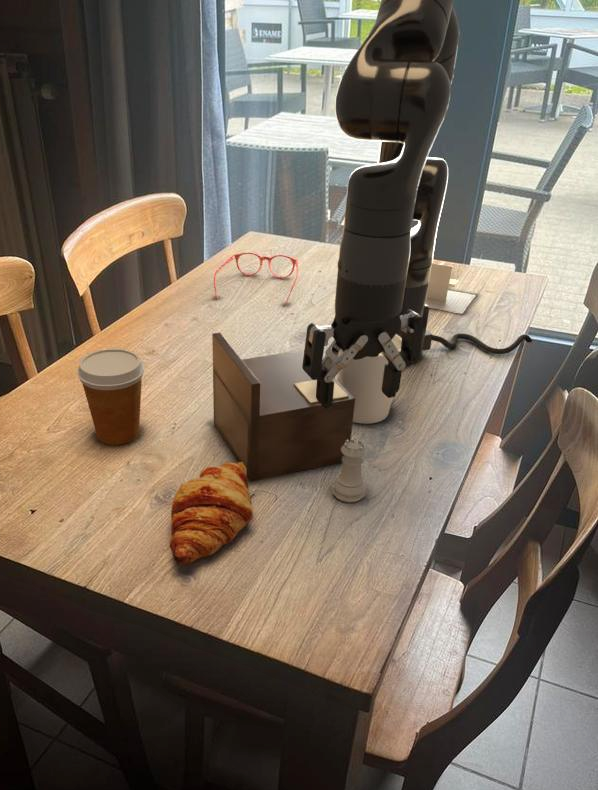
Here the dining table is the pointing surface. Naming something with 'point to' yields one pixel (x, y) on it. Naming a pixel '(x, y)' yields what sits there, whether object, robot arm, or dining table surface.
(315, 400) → the walnut shelf
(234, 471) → the croissant
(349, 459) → the rook chess piece
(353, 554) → the dining table surface
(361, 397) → the candle holder
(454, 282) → the architectural model
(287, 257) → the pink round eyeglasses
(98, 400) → the disposable coffee cup
